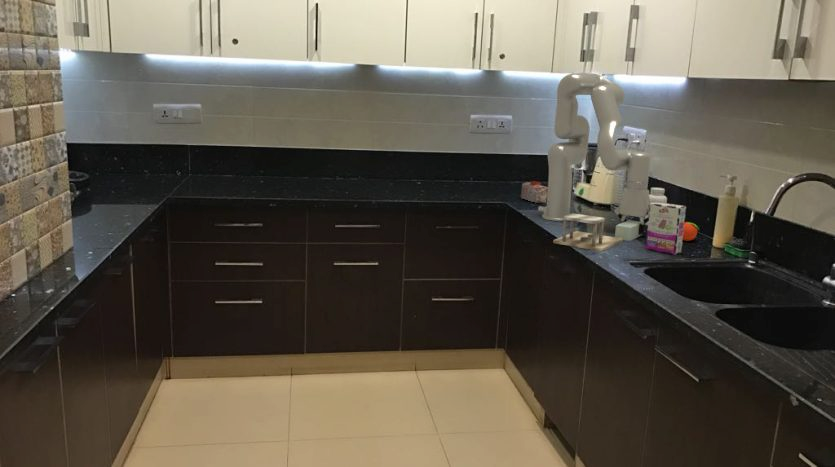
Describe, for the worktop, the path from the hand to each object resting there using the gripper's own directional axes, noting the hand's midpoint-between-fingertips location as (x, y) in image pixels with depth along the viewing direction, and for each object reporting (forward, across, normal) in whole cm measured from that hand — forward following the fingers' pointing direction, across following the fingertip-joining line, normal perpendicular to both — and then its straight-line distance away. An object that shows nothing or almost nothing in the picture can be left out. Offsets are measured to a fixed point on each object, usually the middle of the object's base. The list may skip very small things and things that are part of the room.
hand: (632, 232), depth 264 cm
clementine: (+1, +19, +5) cm, 20 cm away
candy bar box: (+1, +17, -17) cm, 24 cm away
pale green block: (+1, 0, -4) cm, 4 cm away
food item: (+1, -61, +38) cm, 72 cm away
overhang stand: (+1, -8, -22) cm, 23 cm away
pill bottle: (+1, 0, +25) cm, 25 cm away
